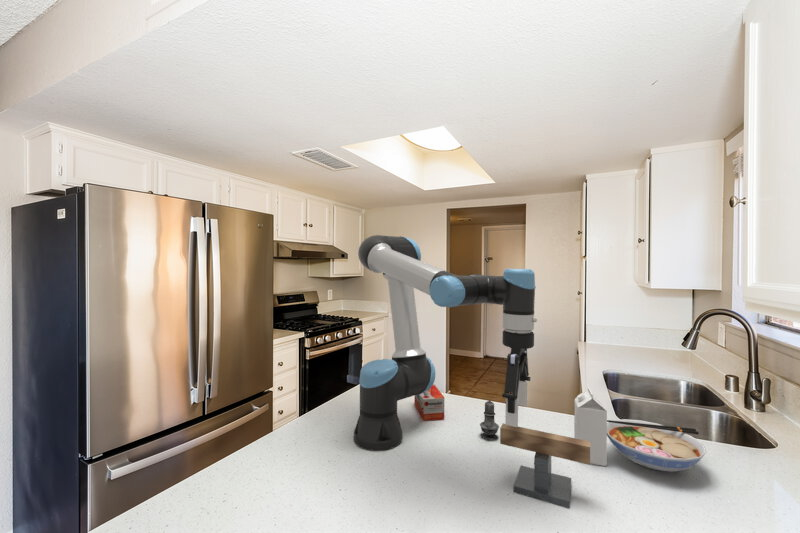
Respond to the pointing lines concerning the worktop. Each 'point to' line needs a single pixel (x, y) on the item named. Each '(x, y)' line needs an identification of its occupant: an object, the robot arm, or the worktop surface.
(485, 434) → the grey stone chess piece
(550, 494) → the ridge stand
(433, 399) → the medicine box
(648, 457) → the ramen bowl
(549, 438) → the walnut beam
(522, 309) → the robot arm
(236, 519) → the worktop surface
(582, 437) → the milk carton
